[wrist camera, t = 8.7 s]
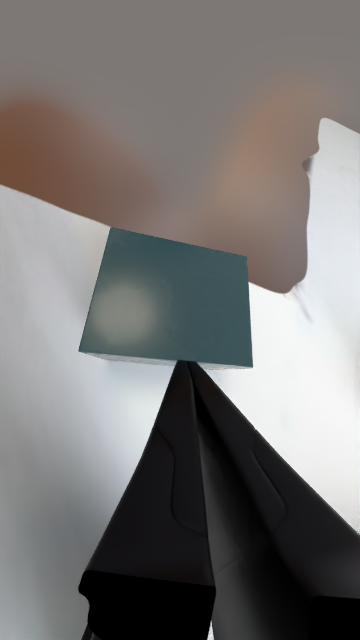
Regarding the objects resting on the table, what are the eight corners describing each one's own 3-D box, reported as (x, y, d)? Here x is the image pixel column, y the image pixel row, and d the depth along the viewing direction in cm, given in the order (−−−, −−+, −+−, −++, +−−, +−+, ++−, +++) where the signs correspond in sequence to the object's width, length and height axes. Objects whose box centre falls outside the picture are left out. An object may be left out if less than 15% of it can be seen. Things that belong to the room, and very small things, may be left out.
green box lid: (112, 234, 14) (110, 226, 13) (242, 261, 15) (247, 256, 15) (82, 353, 11) (77, 351, 10) (247, 368, 13) (253, 368, 12)
